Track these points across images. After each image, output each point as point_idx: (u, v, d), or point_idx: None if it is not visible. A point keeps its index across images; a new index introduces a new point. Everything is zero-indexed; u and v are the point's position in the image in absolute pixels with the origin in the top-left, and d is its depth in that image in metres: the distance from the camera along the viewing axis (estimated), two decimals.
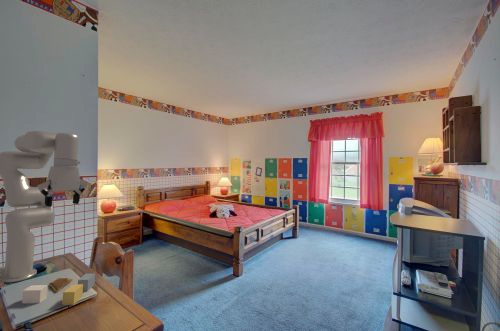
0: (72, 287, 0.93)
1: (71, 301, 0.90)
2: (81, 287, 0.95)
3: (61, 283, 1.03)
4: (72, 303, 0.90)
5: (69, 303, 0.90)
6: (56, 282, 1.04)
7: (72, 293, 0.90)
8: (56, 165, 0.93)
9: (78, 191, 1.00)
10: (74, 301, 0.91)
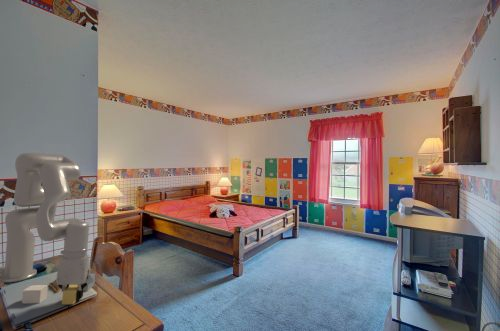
0: (72, 286, 0.94)
1: (71, 300, 0.90)
2: None
3: None
4: (72, 302, 0.90)
5: (69, 302, 0.90)
6: None
7: (72, 292, 0.90)
8: (86, 254, 0.95)
9: None
10: (74, 300, 0.90)
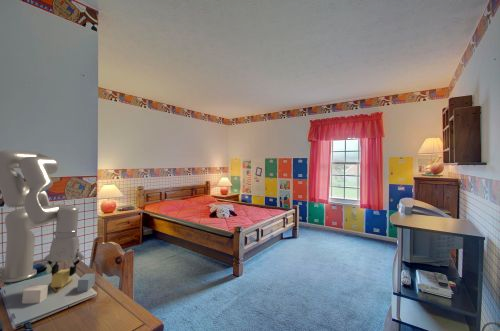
0: (60, 271, 1.03)
1: (59, 284, 1.00)
2: None
3: None
4: (60, 285, 1.00)
5: (57, 285, 1.00)
6: None
7: (60, 276, 1.00)
8: (76, 236, 1.06)
9: None
10: (62, 284, 1.01)
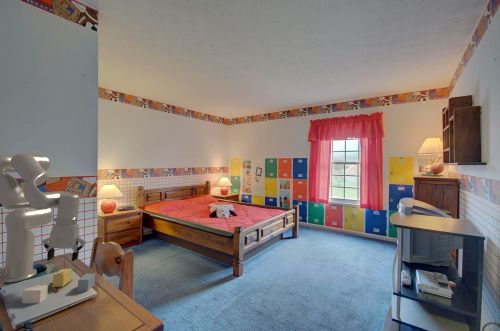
0: (61, 271, 1.04)
1: (60, 283, 1.01)
2: (70, 271, 1.06)
3: None
4: (61, 285, 1.01)
5: (59, 285, 1.00)
6: None
7: (61, 276, 1.01)
8: (76, 223, 1.06)
9: None
10: (63, 283, 1.01)
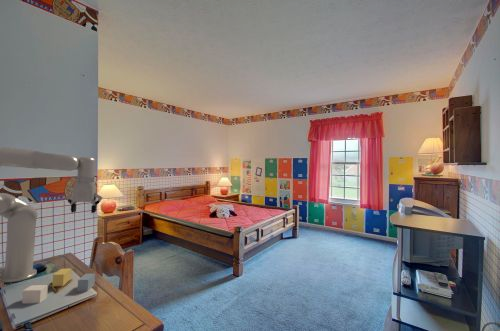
0: (61, 271, 1.04)
1: (60, 283, 1.01)
2: (69, 271, 1.06)
3: None
4: (61, 284, 1.01)
5: (59, 284, 1.01)
6: None
7: (61, 275, 1.01)
8: (93, 182, 1.27)
9: None
10: (63, 282, 1.02)
